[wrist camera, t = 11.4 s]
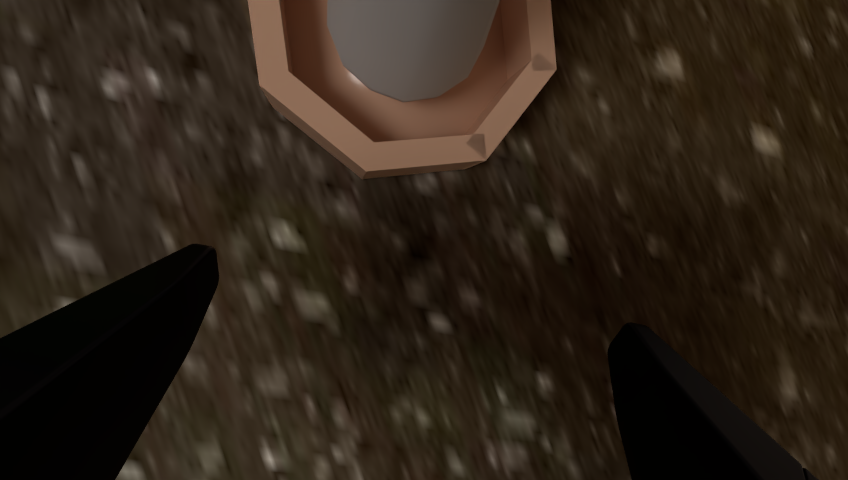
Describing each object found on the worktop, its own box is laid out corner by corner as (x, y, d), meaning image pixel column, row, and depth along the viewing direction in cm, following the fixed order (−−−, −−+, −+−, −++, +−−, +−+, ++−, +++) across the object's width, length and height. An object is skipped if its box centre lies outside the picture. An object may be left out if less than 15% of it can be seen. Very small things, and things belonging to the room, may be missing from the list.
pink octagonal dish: (284, 186, 17) (272, 180, 14) (245, -93, 17) (225, -159, 14) (530, 163, 19) (564, 153, 17) (507, -87, 19) (538, -144, 16)
